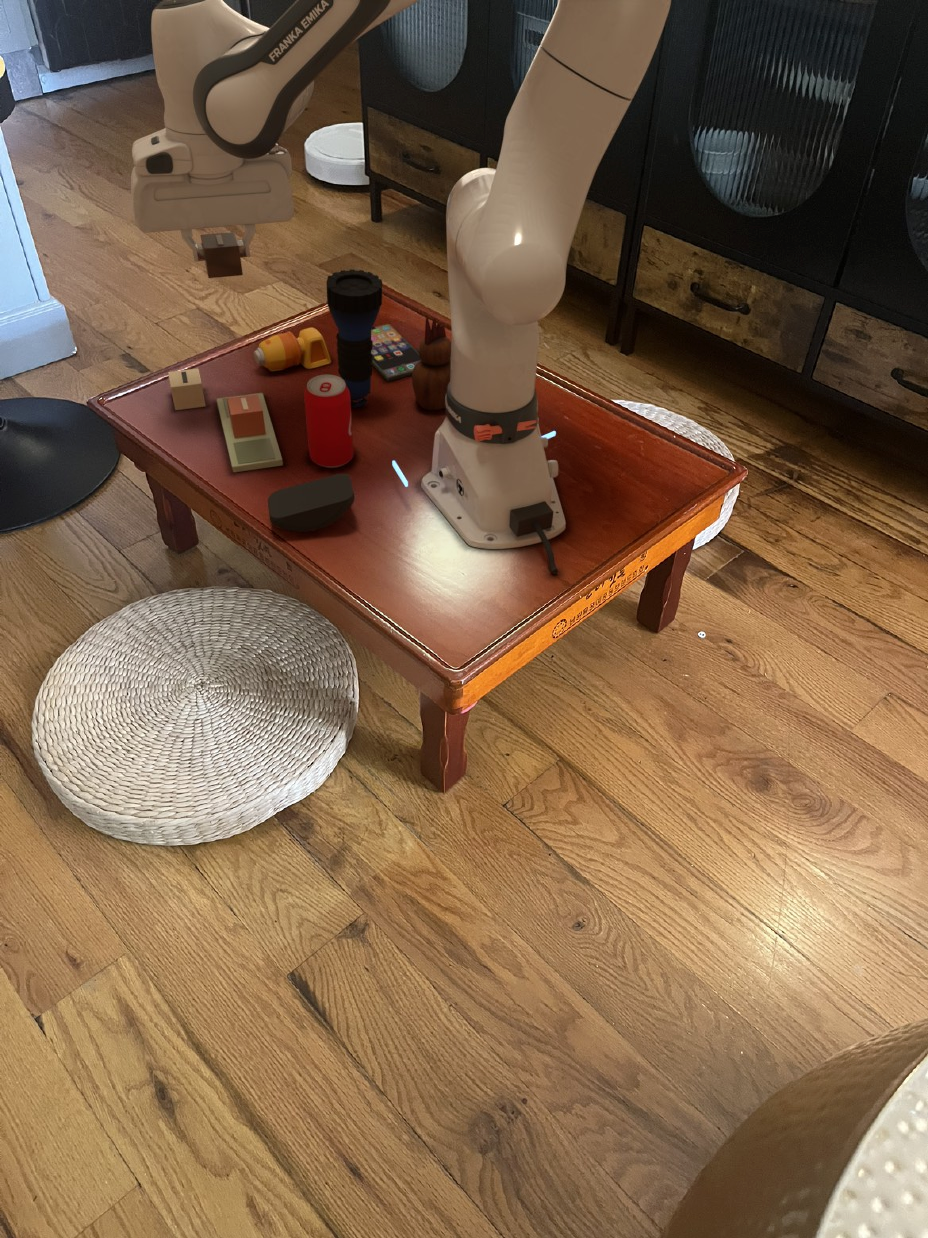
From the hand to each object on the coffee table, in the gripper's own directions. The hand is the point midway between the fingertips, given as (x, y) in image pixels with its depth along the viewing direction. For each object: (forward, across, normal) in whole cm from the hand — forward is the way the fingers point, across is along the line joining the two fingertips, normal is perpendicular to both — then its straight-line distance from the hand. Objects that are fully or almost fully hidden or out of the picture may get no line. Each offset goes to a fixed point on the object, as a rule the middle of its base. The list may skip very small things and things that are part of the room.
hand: (221, 257), depth 125 cm
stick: (+24, -31, -8) cm, 40 cm away
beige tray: (+24, 0, +6) cm, 25 cm away
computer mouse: (+19, -5, +28) cm, 35 cm away
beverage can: (+24, -10, +15) cm, 30 cm away
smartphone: (+24, -25, -11) cm, 37 cm away
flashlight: (+24, -17, +3) cm, 30 cm away
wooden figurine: (+24, -29, +5) cm, 38 cm away
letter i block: (+24, +8, -5) cm, 25 cm away
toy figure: (+24, -10, -12) cm, 28 cm away
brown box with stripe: (+2, 0, 0) cm, 2 cm away
